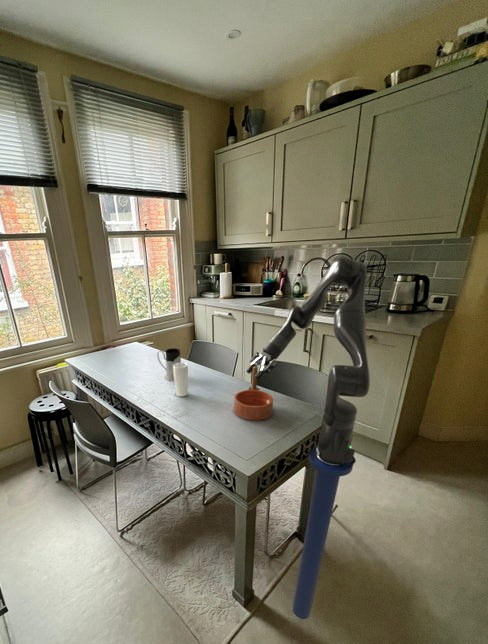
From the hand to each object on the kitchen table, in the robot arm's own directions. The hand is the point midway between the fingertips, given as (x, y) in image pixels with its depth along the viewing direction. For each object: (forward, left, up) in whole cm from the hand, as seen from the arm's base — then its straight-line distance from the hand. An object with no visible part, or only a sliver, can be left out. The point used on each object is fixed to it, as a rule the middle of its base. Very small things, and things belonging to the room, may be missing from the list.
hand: (251, 375), depth 142 cm
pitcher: (+46, +5, -11) cm, 48 cm away
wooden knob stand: (-1, -1, -10) cm, 11 cm away
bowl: (-8, +13, -10) cm, 18 cm away
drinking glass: (+27, +18, -11) cm, 34 cm away
